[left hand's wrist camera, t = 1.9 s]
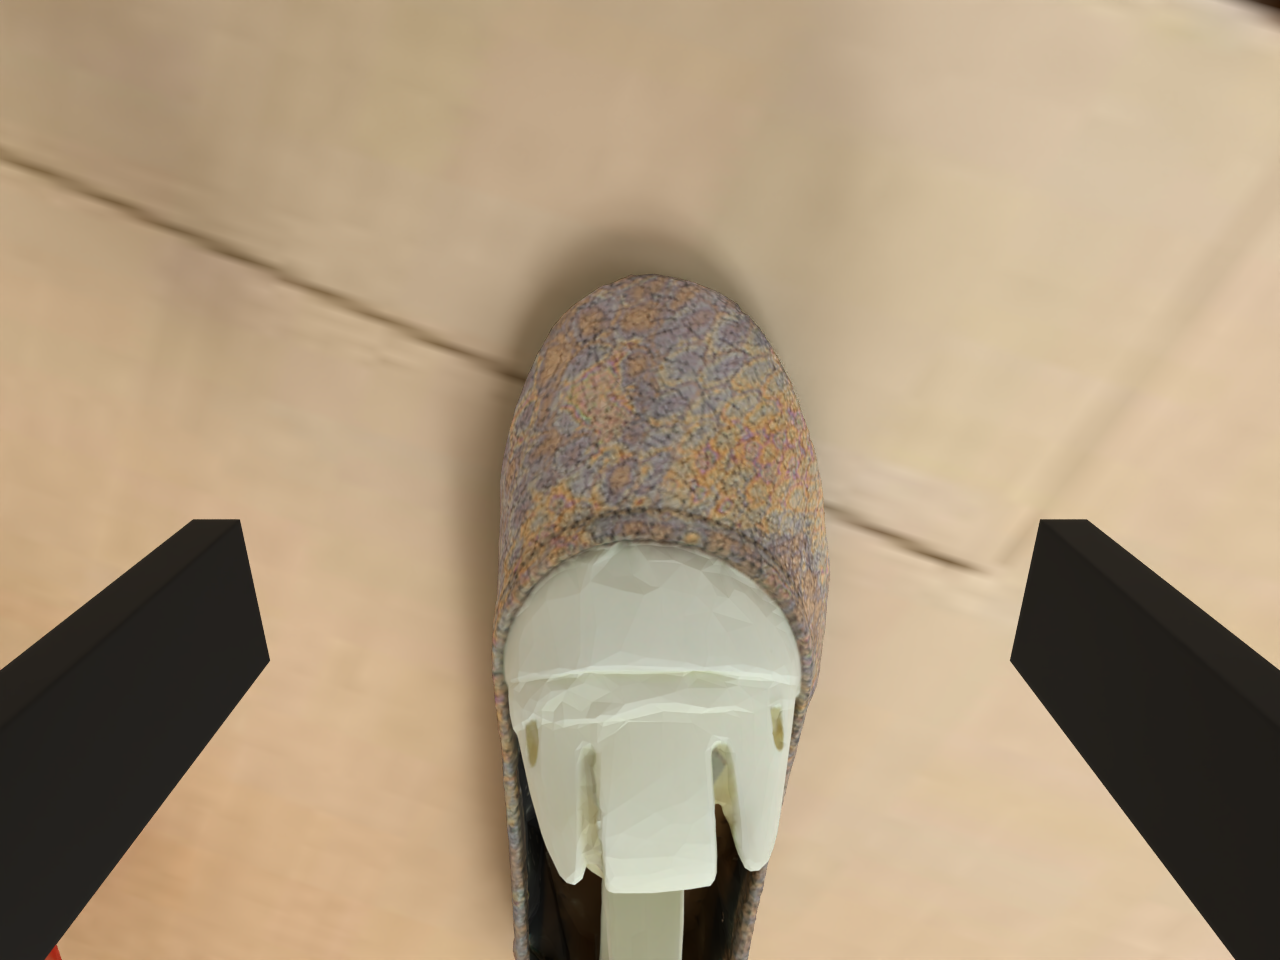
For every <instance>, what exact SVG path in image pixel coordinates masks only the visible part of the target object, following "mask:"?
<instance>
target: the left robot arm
mask: <svg viewBox="0 0 1280 960" xmlns="http://www.w3.org/2000/svg"><path fill="white" fill-rule="evenodd" d="M269 661H270V658H269V653H268V649H267V644H266V639H265V635H264V630H263V625H262V621H261V616H260V611H259V607H258V602H257V597H256V593H255V588H254V583H253V579H252V574H251V569H250V565H249V560H248V555H247V551H246V546H245V541H244V537H243V532H242V527H241V523H240V519H193V520H192V521H191V522H189V523H188V524H187V525H185V526H184V527H183V528H182V529H180V530H179V531H178V532H176V533H175V534H174V535H173V536H171V537H170V538H169V539H168V540H166V541H165V542H164V543H162V544H161V545H160V546H159V547H157V548H156V549H155V550H153V551H152V552H151V553H150V554H148V555H147V556H146V557H145V558H143V559H142V560H141V561H139V562H138V563H137V564H136V565H134V566H133V567H132V568H130V569H129V570H128V571H127V572H125V573H124V574H123V575H122V576H120V577H119V578H118V579H116V580H115V581H114V582H113V583H111V584H110V585H109V586H107V587H106V588H105V589H104V590H102V591H101V592H100V593H99V594H97V595H96V596H95V597H93V598H92V599H91V600H90V601H88V602H87V603H86V604H84V605H83V606H82V607H81V608H79V609H78V610H77V611H76V612H74V613H73V614H72V615H70V616H69V617H68V618H67V619H65V620H64V621H63V622H61V623H60V624H59V625H58V626H56V627H55V628H54V629H53V630H51V631H50V632H49V633H47V634H46V635H45V636H44V637H42V638H41V639H40V640H39V641H37V642H36V643H35V644H33V645H32V646H31V647H30V648H28V649H27V650H26V651H24V652H23V653H22V654H21V655H19V656H18V657H17V658H16V659H14V660H13V661H12V662H10V663H9V664H8V665H7V666H5V667H4V668H3V669H1V670H0V960H45V959H46V957H47V956H48V955H49V953H50V952H51V951H52V949H53V948H54V947H55V945H56V944H57V943H58V941H59V940H60V939H61V937H62V936H63V935H64V933H65V932H66V931H67V929H68V928H69V927H70V925H71V924H72V923H73V921H74V920H75V919H76V917H77V916H78V915H79V914H80V912H81V911H82V910H83V908H84V907H85V906H86V904H87V903H88V902H89V900H90V899H91V898H92V896H93V895H94V894H95V892H96V891H97V890H98V888H99V887H100V886H101V884H102V883H103V882H104V880H105V879H106V878H107V876H108V875H109V874H110V872H111V871H112V870H113V868H114V867H115V866H116V864H117V863H118V862H119V860H120V859H121V858H122V856H123V855H124V854H125V852H126V851H127V850H128V848H129V847H130V846H131V845H132V843H133V842H134V841H135V839H136V838H137V837H138V835H139V834H140V833H141V831H142V830H143V829H144V827H145V826H146V825H147V823H148V822H149V821H150V819H151V818H152V817H153V815H154V814H155V813H156V811H157V810H158V809H159V807H160V806H161V805H162V803H163V802H164V801H165V799H166V798H167V797H168V795H169V794H170V793H171V791H172V790H173V789H174V787H175V786H176V785H177V783H178V782H179V781H180V779H181V778H182V777H183V775H184V774H185V773H186V772H187V770H188V769H189V768H190V766H191V765H192V764H193V762H194V761H195V760H196V758H197V757H198V756H199V754H200V753H201V752H202V750H203V749H204V748H205V746H206V745H207V744H208V742H209V741H210V740H211V738H212V737H213V736H214V734H215V733H216V732H217V730H218V729H219V728H220V726H221V725H222V724H223V722H224V721H225V720H226V718H227V717H228V716H229V714H230V713H231V712H232V710H233V709H234V708H235V706H236V705H237V704H238V703H239V701H240V700H241V699H242V697H243V696H244V695H245V693H246V692H247V691H248V689H249V688H250V687H251V685H252V684H253V683H254V681H255V680H256V679H257V677H258V676H259V675H260V673H261V672H262V671H263V669H264V668H265V667H266V665H267V664H268V663H269ZM1010 661H1011V663H1012V664H1013V665H1014V667H1015V668H1016V669H1017V671H1018V672H1019V673H1020V675H1021V676H1022V677H1023V679H1024V680H1025V681H1026V683H1027V684H1028V685H1029V687H1030V688H1031V689H1032V691H1033V692H1034V693H1035V695H1036V696H1037V697H1038V699H1039V700H1040V701H1041V703H1042V704H1043V705H1044V706H1045V708H1046V709H1047V710H1048V712H1049V713H1050V714H1051V716H1052V717H1053V718H1054V720H1055V721H1056V722H1057V724H1058V725H1059V726H1060V728H1061V729H1062V730H1063V732H1064V733H1065V734H1066V736H1067V737H1068V738H1069V740H1070V741H1071V742H1072V744H1073V745H1074V746H1075V748H1076V749H1077V750H1078V752H1079V753H1080V754H1081V756H1082V757H1083V758H1084V760H1085V761H1086V762H1087V764H1088V765H1089V766H1090V768H1091V769H1092V770H1093V772H1094V773H1095V774H1096V775H1097V777H1098V778H1099V779H1100V781H1101V782H1102V783H1103V785H1104V786H1105V787H1106V789H1107V790H1108V791H1109V793H1110V794H1111V795H1112V797H1113V798H1114V799H1115V801H1116V802H1117V803H1118V805H1119V806H1120V807H1121V809H1122V810H1123V811H1124V813H1125V814H1126V815H1127V817H1128V818H1129V819H1130V821H1131V822H1132V823H1133V825H1134V826H1135V827H1136V829H1137V830H1138V831H1139V833H1140V834H1141V835H1142V837H1143V838H1144V839H1145V841H1146V842H1147V843H1148V845H1149V846H1150V847H1151V848H1152V850H1153V851H1154V852H1155V854H1156V855H1157V856H1158V858H1159V859H1160V860H1161V862H1162V863H1163V864H1164V866H1165V867H1166V868H1167V870H1168V871H1169V872H1170V874H1171V875H1172V876H1173V878H1174V879H1175V880H1176V882H1177V883H1178V884H1179V886H1180V887H1181V888H1182V890H1183V891H1184V892H1185V894H1186V895H1187V896H1188V898H1189V899H1190V900H1191V902H1192V903H1193V904H1194V906H1195V907H1196V908H1197V910H1198V911H1199V912H1200V914H1201V915H1202V916H1203V917H1204V919H1205V920H1206V921H1207V923H1208V924H1209V925H1210V927H1211V928H1212V929H1213V931H1214V932H1215V933H1216V935H1217V936H1218V937H1219V939H1220V940H1221V941H1222V943H1223V944H1224V945H1225V947H1226V948H1227V949H1228V951H1229V952H1230V953H1231V955H1232V956H1233V957H1234V959H1235V960H1280V670H1279V669H1277V668H1276V667H1275V666H1273V665H1272V664H1271V663H1270V662H1268V661H1267V660H1266V659H1264V658H1263V657H1262V656H1261V655H1259V654H1258V653H1257V652H1256V651H1254V650H1253V649H1252V648H1250V647H1249V646H1248V645H1247V644H1245V643H1244V642H1243V641H1241V640H1240V639H1239V638H1238V637H1236V636H1235V635H1234V634H1233V633H1231V632H1230V631H1229V630H1227V629H1226V628H1225V627H1224V626H1222V625H1221V624H1220V623H1218V622H1217V621H1216V620H1215V619H1213V618H1212V617H1211V616H1210V615H1208V614H1207V613H1206V612H1204V611H1203V610H1202V609H1201V608H1199V607H1198V606H1197V605H1196V604H1194V603H1193V602H1192V601H1190V600H1189V599H1188V598H1187V597H1185V596H1184V595H1183V594H1181V593H1180V592H1179V591H1178V590H1176V589H1175V588H1174V587H1173V586H1171V585H1170V584H1169V583H1167V582H1166V581H1165V580H1164V579H1162V578H1161V577H1160V576H1158V575H1157V574H1156V573H1155V572H1153V571H1152V570H1151V569H1150V568H1148V567H1147V566H1146V565H1144V564H1143V563H1142V562H1141V561H1139V560H1138V559H1137V558H1135V557H1134V556H1133V555H1132V554H1130V553H1129V552H1128V551H1127V550H1125V549H1124V548H1123V547H1121V546H1120V545H1119V544H1118V543H1116V542H1115V541H1114V540H1112V539H1111V538H1110V537H1109V536H1107V535H1106V534H1105V533H1104V532H1102V531H1101V530H1100V529H1098V528H1097V527H1096V526H1095V525H1093V524H1092V523H1091V522H1089V521H1088V520H1087V519H1040V523H1039V527H1038V532H1037V537H1036V541H1035V546H1034V551H1033V555H1032V560H1031V565H1030V569H1029V574H1028V579H1027V583H1026V588H1025V593H1024V597H1023V602H1022V607H1021V611H1020V616H1019V621H1018V625H1017V630H1016V635H1015V639H1014V644H1013V649H1012V653H1011V658H1010Z"/></svg>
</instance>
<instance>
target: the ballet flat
mask: <svg viewBox="0 0 1280 960" xmlns="http://www.w3.org/2000/svg"><path fill="white" fill-rule="evenodd" d="M823 504H824V501H823V492H822V484H821V478H820V474H819V470H818V465H817V460H816V455H815V450H814V446H813V444H812V441H811V440H810V436H809V430H808V428H807V426H806V423H805V419H804V418H803V416H802V412H801V409H800V406H799V403H798V400H797V398H796V396H795V393H794V391H793V388H792V384H791V381H790V380H789V378H788V376H787V374H786V373H785V371H784V369H783V367H782V365H781V363H780V361H779V359H778V357H777V356H776V354H775V352H774V350H773V348H772V347H771V345H770V343H769V342H768V341H767V340H766V337H765V335H764V334H763V333H762V332H761V330H760V328H759V327H758V326H756V324H755V323H754V321H753V320H752V319H751V318H750V317H749V316H748V315H746V314H744V313H743V312H741V310H740V307H739V305H738V304H736V303H735V302H733V301H732V300H730V299H728V298H727V297H725V296H724V295H722V294H720V293H719V292H716V291H714V290H711V289H709V288H706V287H704V286H702V285H699V284H697V283H694V282H690V281H686V280H682V279H678V278H673V277H667V276H662V275H656V274H648V275H639V276H635V275H629V276H628V277H626V278H622V279H620V280H618V281H616V282H613V283H611V284H608V285H603V286H601V287H599V288H597V289H596V290H595V291H593V292H592V293H590V294H589V295H587V296H586V297H584V298H583V299H582V300H580V301H579V302H577V303H576V304H574V305H573V306H572V307H571V308H570V309H569V310H568V311H567V312H566V313H565V314H563V315H562V317H561V318H560V319H559V320H558V321H557V322H556V324H555V325H554V326H553V327H552V329H551V331H550V333H549V335H548V336H547V338H546V340H545V341H544V344H543V346H542V348H541V349H540V351H539V352H538V354H537V356H536V359H535V361H534V363H533V366H532V368H531V371H530V372H529V374H528V377H527V379H526V381H525V384H524V387H523V390H522V393H521V395H520V398H519V400H518V403H517V405H516V408H515V413H514V418H513V421H512V423H511V427H510V431H509V435H508V440H507V444H506V448H505V454H504V459H503V465H502V472H501V480H500V508H501V513H500V537H499V571H498V589H497V601H496V608H495V616H494V622H493V639H492V663H493V665H492V676H493V682H494V693H495V706H496V710H497V720H498V732H499V735H500V739H501V745H502V760H503V777H504V779H503V784H504V790H505V804H506V812H507V831H508V837H509V852H510V866H511V881H512V903H513V919H514V934H515V938H514V941H513V952H514V957H515V960H748V954H749V949H750V944H751V938H752V934H753V930H754V923H755V920H756V913H757V908H758V905H759V901H760V895H761V893H762V890H763V886H764V879H765V875H766V870H767V865H768V861H769V858H770V855H771V853H772V850H773V847H774V844H775V840H776V836H777V832H778V825H779V819H780V812H781V807H782V804H783V800H784V795H785V793H786V788H787V783H788V779H789V775H790V771H791V768H792V764H793V761H794V758H795V755H796V751H797V746H798V742H799V738H800V735H801V730H802V727H803V725H804V719H805V715H806V711H807V708H808V705H809V702H810V700H811V698H812V696H813V693H814V691H815V688H816V686H817V681H818V676H819V671H820V660H821V655H822V645H823V637H824V632H825V622H826V611H827V597H828V586H829V580H830V564H829V554H828V545H827V539H826V530H825V519H824V514H825V513H824V509H823Z"/></svg>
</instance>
